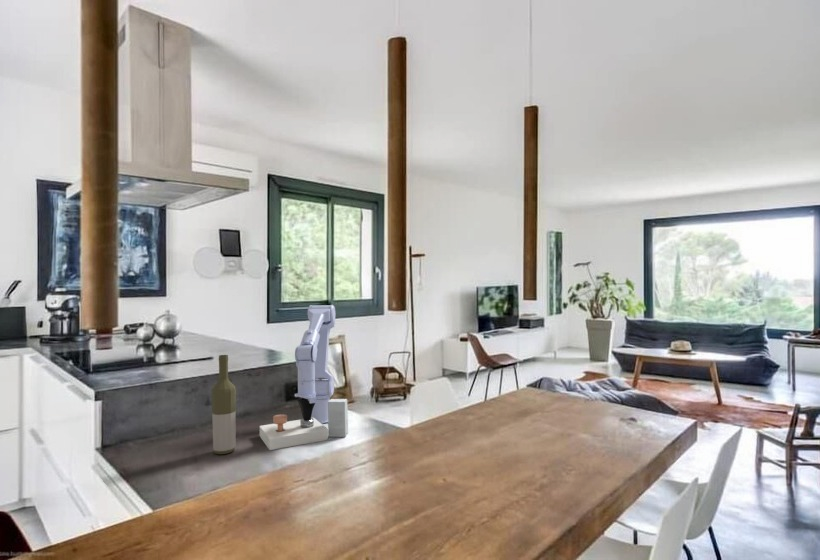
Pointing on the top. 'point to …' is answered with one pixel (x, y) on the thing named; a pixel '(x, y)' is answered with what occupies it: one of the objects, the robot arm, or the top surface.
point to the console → (292, 434)
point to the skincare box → (337, 418)
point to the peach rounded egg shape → (280, 421)
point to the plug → (307, 423)
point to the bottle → (223, 411)
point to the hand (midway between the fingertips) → (306, 420)
